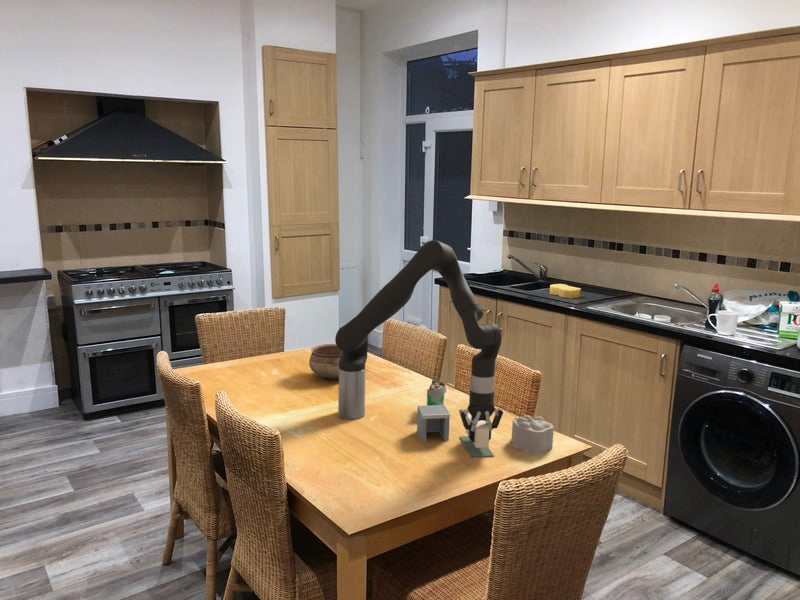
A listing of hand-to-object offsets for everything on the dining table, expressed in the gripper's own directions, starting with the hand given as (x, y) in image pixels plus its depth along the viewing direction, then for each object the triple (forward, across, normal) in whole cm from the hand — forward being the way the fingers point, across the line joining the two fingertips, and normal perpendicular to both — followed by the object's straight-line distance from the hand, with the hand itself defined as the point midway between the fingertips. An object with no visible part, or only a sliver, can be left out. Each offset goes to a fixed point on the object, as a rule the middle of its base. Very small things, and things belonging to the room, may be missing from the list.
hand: (479, 440), depth 198 cm
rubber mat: (+4, 0, +4) cm, 5 cm away
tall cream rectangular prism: (+1, 0, +3) cm, 3 cm away
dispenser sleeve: (+3, -12, +14) cm, 18 cm away
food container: (+4, -6, +34) cm, 35 cm away
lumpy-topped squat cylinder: (+4, +18, +3) cm, 18 cm away
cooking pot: (+4, -42, +76) cm, 87 cm away
